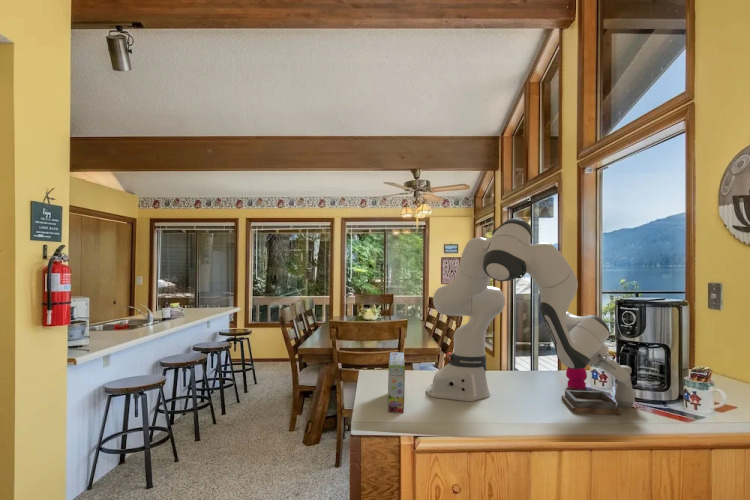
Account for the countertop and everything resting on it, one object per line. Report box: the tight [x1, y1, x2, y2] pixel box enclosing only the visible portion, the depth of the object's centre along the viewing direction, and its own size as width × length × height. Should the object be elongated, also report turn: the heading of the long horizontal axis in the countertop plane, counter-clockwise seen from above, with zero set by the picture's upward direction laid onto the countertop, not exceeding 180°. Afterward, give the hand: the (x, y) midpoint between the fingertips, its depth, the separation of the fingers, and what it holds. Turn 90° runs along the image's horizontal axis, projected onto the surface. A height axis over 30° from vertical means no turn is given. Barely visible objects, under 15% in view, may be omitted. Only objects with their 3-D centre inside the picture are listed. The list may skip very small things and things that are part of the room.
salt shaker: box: [614, 364, 636, 409], centre depth 141 cm, size 6×6×13 cm
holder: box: [561, 389, 622, 416], centre depth 139 cm, size 14×13×4 cm
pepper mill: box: [565, 367, 588, 390], centre depth 163 cm, size 7×7×20 cm
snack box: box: [387, 351, 406, 414], centre depth 145 cm, size 21×6×15 cm, turn 177°
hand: (626, 383), depth 141 cm, fingers open, 3 cm apart
